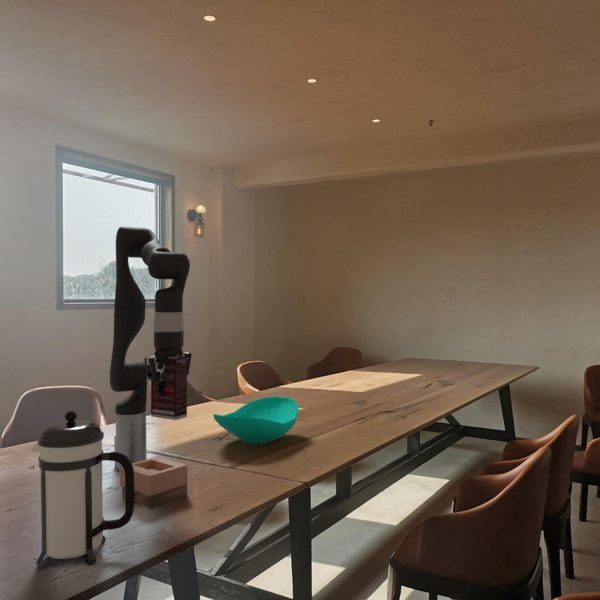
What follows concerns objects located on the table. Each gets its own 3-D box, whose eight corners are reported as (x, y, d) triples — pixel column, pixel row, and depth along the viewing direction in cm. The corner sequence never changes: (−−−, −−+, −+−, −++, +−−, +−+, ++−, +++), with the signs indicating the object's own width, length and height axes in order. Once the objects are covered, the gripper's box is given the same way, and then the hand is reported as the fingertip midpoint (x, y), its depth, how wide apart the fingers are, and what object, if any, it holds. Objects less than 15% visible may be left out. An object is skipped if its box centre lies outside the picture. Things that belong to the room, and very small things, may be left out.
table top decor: (253, 426, 230) (252, 394, 230) (314, 433, 218) (314, 399, 218) (194, 451, 194) (193, 413, 194) (263, 461, 182) (263, 420, 182)
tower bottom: (122, 500, 149) (122, 485, 149) (159, 488, 159) (158, 474, 159) (150, 510, 142) (150, 495, 142) (187, 497, 151) (187, 482, 151)
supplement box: (187, 416, 147) (188, 356, 146) (175, 420, 142) (176, 358, 142) (162, 412, 151) (162, 353, 150) (149, 416, 146) (149, 356, 146)
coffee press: (55, 582, 106) (53, 423, 106) (20, 556, 117) (18, 412, 116) (137, 550, 119) (135, 408, 119) (98, 529, 129) (97, 399, 129)
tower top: (120, 485, 149) (120, 466, 149) (157, 474, 159) (157, 456, 159) (149, 496, 141) (149, 476, 141) (187, 483, 150) (187, 464, 150)
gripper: (180, 326, 154) (180, 388, 154) (136, 330, 142) (136, 396, 143) (199, 328, 149) (199, 392, 150) (155, 332, 138) (155, 400, 138)
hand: (168, 394), depth 146 cm, fingers closed on supplement box, 5 cm apart
